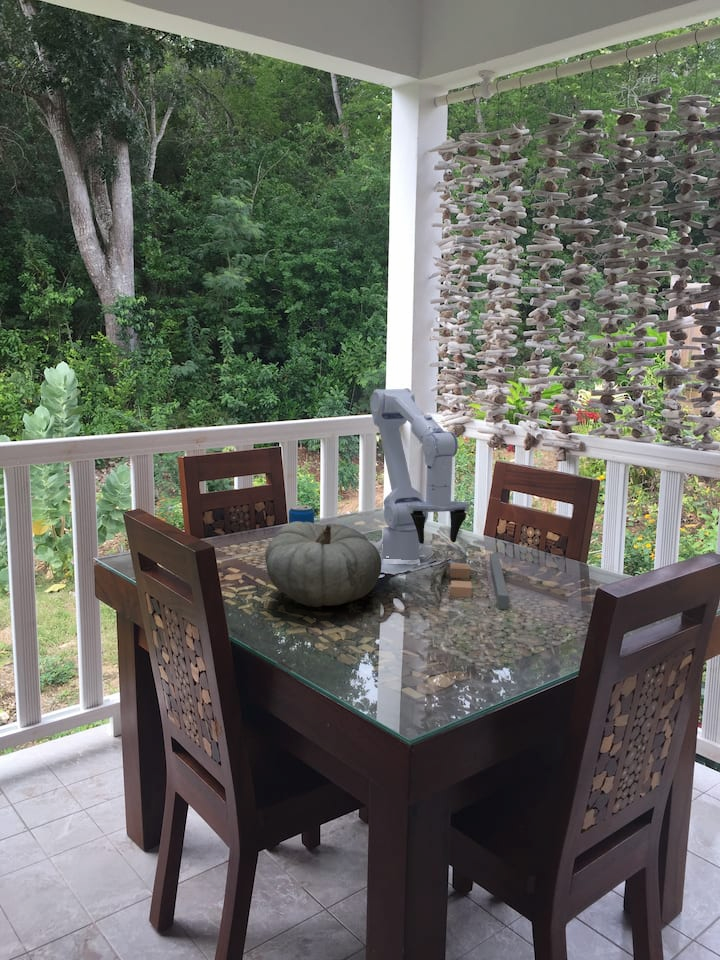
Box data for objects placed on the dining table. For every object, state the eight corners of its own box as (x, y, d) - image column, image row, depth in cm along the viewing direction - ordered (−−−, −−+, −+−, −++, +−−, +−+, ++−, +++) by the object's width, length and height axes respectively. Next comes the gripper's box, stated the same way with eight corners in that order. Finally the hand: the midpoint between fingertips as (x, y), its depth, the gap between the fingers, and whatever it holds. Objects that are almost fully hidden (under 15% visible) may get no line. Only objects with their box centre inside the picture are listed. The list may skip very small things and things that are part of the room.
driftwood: (441, 611, 171) (441, 588, 170) (429, 610, 171) (429, 587, 170) (449, 562, 206) (450, 542, 205) (439, 561, 207) (440, 542, 206)
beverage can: (318, 551, 214) (319, 506, 211) (304, 557, 208) (304, 511, 206) (298, 547, 217) (298, 503, 215) (283, 553, 212) (283, 507, 210)
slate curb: (497, 608, 172) (498, 595, 171) (489, 565, 203) (490, 553, 203) (507, 609, 172) (508, 595, 171) (497, 565, 203) (498, 554, 202)
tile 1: (450, 597, 180) (450, 586, 179) (450, 591, 184) (451, 580, 183) (471, 598, 179) (471, 587, 179) (470, 592, 183) (471, 581, 183)
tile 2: (450, 578, 193) (450, 568, 193) (449, 573, 198) (450, 562, 197) (469, 579, 193) (470, 569, 192) (468, 573, 197) (469, 563, 197)
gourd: (298, 627, 160) (298, 541, 157) (242, 592, 180) (241, 515, 177) (401, 605, 174) (403, 525, 170) (339, 574, 194) (339, 503, 191)
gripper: (412, 488, 183) (411, 547, 186) (474, 487, 186) (472, 545, 188) (405, 482, 190) (403, 539, 193) (465, 481, 193) (462, 537, 195)
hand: (437, 542), depth 191 cm, fingers open, 7 cm apart
